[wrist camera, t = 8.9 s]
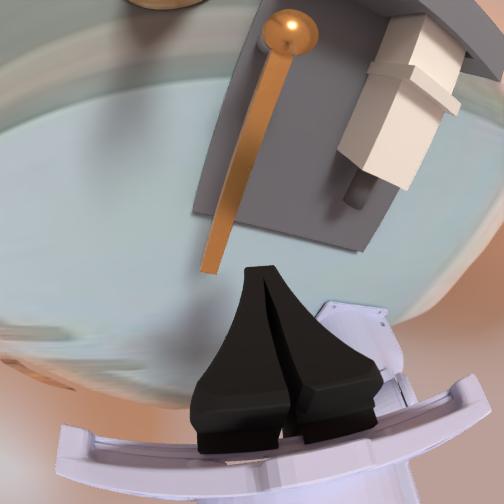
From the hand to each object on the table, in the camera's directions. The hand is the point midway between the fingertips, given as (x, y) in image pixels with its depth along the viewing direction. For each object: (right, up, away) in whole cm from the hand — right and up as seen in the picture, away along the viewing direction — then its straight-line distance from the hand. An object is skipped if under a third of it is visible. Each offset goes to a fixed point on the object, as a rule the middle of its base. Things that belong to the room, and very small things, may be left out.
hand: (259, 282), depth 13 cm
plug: (+9, +13, +3) cm, 16 cm away
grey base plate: (+7, +13, +4) cm, 15 cm away
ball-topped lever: (-1, +7, +1) cm, 7 cm away
